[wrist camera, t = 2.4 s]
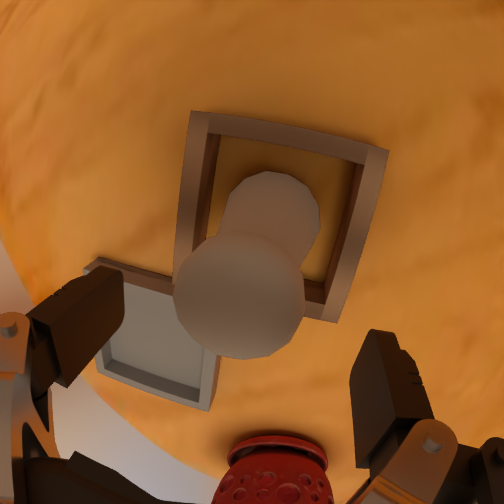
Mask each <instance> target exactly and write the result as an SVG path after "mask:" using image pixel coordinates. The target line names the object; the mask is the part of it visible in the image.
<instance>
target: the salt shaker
mask: <svg viewBox="0 0 504 504" xmlns="http://www.w3.org/2000/svg"><path fill="white" fill-rule="evenodd" d="M319 229H320V216H319V206H318V204H317V202H316V200H315V199H314V197H313V195H312V193H311V191H310V190H309V188H308V186H306V185H304V184H303V183H301V182H300V181H298V180H297V179H295V178H293V177H292V176H290V175H289V174H283V173H277V172H270V171H264V172H261V173H259V174H256V175H253V176H250V177H247V178H245V179H244V180H243V181H242V182H241V183H240V184H239V185H238V186H237V187H236V188H235V189H234V190H233V191H232V192H231V193H230V195H229V198H228V201H227V204H226V207H225V210H224V214H223V217H222V220H221V223H220V226H219V230H218V233H217V235H216V236H213V237H210V238H207V239H206V240H205V241H204V242H203V243H201V244H200V245H199V246H198V247H197V248H196V249H195V250H194V251H193V252H192V253H191V254H190V255H189V256H188V257H187V258H186V259H185V260H184V261H183V262H182V264H181V267H180V269H179V271H178V274H177V278H176V283H175V287H174V292H173V296H172V297H173V301H174V305H175V309H176V313H177V317H178V321H179V322H180V323H181V325H182V326H183V327H184V328H185V330H186V331H187V332H188V333H189V334H190V336H191V337H192V338H193V339H194V341H196V342H197V343H198V344H200V345H202V346H203V347H205V348H207V349H208V350H210V351H211V352H213V353H215V354H216V355H220V356H225V357H230V358H235V359H241V360H246V359H253V358H260V357H266V356H270V355H271V354H273V353H274V352H276V351H277V350H279V349H280V348H282V347H283V346H285V345H286V344H288V343H289V342H290V340H291V339H292V337H293V335H294V333H295V331H296V330H297V328H298V326H299V324H300V322H301V320H302V318H303V315H304V313H305V294H304V280H303V274H302V272H301V271H300V269H299V268H300V266H301V264H302V262H303V261H304V259H305V257H306V255H307V254H308V252H309V250H310V249H311V247H312V245H313V243H314V240H315V238H316V236H317V234H318V232H319Z"/></svg>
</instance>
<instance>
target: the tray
mask: <svg viewBox="0 0 504 504" xmlns="http://www.w3.org/2000/svg"><path fill="white" fill-rule="evenodd" d="M99 265H103V266H107V267H110V268H114V269H117V270H120V271H121V272H122V273H123V278H124V303H125V315H124V319H123V322H122V324H121V326H120V328H119V329H118V330H117V331H116V332H115V333H114V334H113V336H112V337H111V338H110V339H109V340H108V341H107V342H106V344H105V345H104V346H103V347H102V348H101V349H100V350H99V352H98V353H97V354H96V355H95V361H96V366H97V371H98V372H99V373H101V374H103V375H105V376H108V377H110V378H112V379H115V380H117V381H120V382H122V383H125V384H127V385H130V386H132V387H135V388H137V389H140V390H143V391H145V392H148V393H151V394H154V395H156V396H159V397H162V398H165V399H168V400H171V401H174V402H177V403H180V404H183V405H186V406H190V407H193V408H196V409H199V410H203V411H206V412H209V410H210V407H211V404H212V402H213V399H214V396H215V393H216V386H217V380H218V373H219V367H220V361H221V356H220V355H216V354H215V353H213V352H211V351H210V350H208V349H207V348H205V347H203V346H202V345H200V344H198V343H197V342H196V341H194V339H193V338H192V337H191V336H190V334H189V333H188V332H187V331H186V330H185V328H184V327H183V326H182V325H181V323H180V322H179V321H178V317H177V313H176V309H175V305H174V301H173V297H172V296H173V292H174V287H175V285H173V284H172V277H168V276H165V275H161V274H157V273H154V272H150V271H146V270H143V269H139V268H136V267H132V266H129V265H125V264H122V263H118V262H115V261H111V260H108V259H104V258H101V257H99V258H97V259H96V260H94V261H93V262H92V263H90V264H89V265H87V266H86V267H84V268H83V276H84V275H87V274H88V273H89V272H91V271H92V270H94V269H95V268H96V267H98V266H99Z"/></svg>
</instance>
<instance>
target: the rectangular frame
mask: <svg viewBox="0 0 504 504" xmlns="http://www.w3.org/2000/svg"><path fill="white" fill-rule="evenodd" d="M221 135H226V136H233V137H239V138H245V139H251V140H256V141H262V142H267V143H273V144H278V145H283V146H288V147H292V148H297V149H302V150H306V151H311V152H315V153H319V154H324V155H328V156H332V157H336V158H340V159H344V160H348V161H352V162H355V163H356V165H355V170H354V174H353V178H352V182H351V187H350V191H349V195H348V199H347V203H346V206H345V210H344V214H343V218H342V222H341V225H340V229H339V233H338V236H337V240H336V244H335V247H334V251H333V254H332V258H331V261H330V264H329V268H328V271H327V274H326V278H325V281H324V284H323V283H319V282H314V281H310V280H305V279H303V280H304V294H305V313H304V315H303V316H304V317H308V318H313V319H318V320H322V321H327V322H332V323H338V320H339V318H340V315H341V312H342V309H343V307H344V304H345V301H346V298H347V296H348V293H349V290H350V287H351V284H352V281H353V278H354V275H355V272H356V269H357V266H358V263H359V260H360V257H361V254H362V251H363V247H364V244H365V241H366V238H367V234H368V231H369V228H370V224H371V221H372V217H373V214H374V210H375V206H376V203H377V199H378V195H379V191H380V188H381V184H382V180H383V176H384V172H385V167H386V163H387V159H388V155H389V150H387V149H383V148H380V147H377V146H373V145H370V144H366V143H362V142H359V141H355V140H351V139H348V138H344V137H340V136H336V135H332V134H328V133H323V132H319V131H315V130H310V129H306V128H301V127H296V126H291V125H286V124H281V123H276V122H270V121H265V120H259V119H253V118H246V117H240V116H233V115H226V114H218V113H210V112H202V111H192V110H191V113H190V119H189V126H188V132H187V139H186V146H185V154H184V161H183V169H182V177H181V186H180V195H179V204H178V214H177V224H176V236H175V248H174V261H173V277H172V284H173V285H175V283H176V278H177V274H178V271H179V269H180V267H181V264H182V262H183V261H184V260H185V259H186V258H187V257H188V256H189V255H190V254H191V253H192V252H193V251H194V250H195V249H196V248H197V247H198V246H199V245H200V244H201V243H203V242H204V241H205V240H206V232H207V224H208V217H209V209H210V202H211V195H212V188H213V181H214V174H215V168H216V161H217V154H218V148H219V142H220V136H221Z"/></svg>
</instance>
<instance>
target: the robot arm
mask: <svg viewBox="0 0 504 504" xmlns="http://www.w3.org/2000/svg"><path fill="white" fill-rule="evenodd" d="M124 315H125V303H124V278H123V273H122V272H121V271H120V270H117V269H114V268H110V267H107V266H103V265H99V266H98V267H96V268H95V269H94V270H92V271H91V272H89V273H88V274H87V275H84V276H81V277H78V278H76V279H73V280H71V281H69V282H68V283H67V284H65V285H64V286H63V287H62V289H59V290H57V291H56V292H55V293H54V295H50V296H49V297H48V298H47V299H45V300H44V301H43V302H41V303H40V304H39V305H37V306H36V307H35V308H33V309H32V310H31V311H30V312H29V313H27V314H26V315H24V314H22V313H18V312H7V313H3V314H0V504H194V503H181V502H171V501H163V500H159V499H157V498H155V497H153V496H151V495H150V494H148V493H147V492H145V491H144V490H142V489H141V488H139V487H138V486H136V485H135V484H133V483H132V482H131V481H129V480H128V479H126V478H125V477H124V476H122V475H121V474H119V473H118V472H117V471H115V470H113V469H111V468H109V467H107V466H104V465H102V464H100V463H98V462H96V461H94V460H92V459H90V458H88V457H86V456H84V455H82V454H80V453H78V452H77V451H74V453H73V455H72V456H71V457H70V459H69V460H68V459H62V458H60V455H59V452H58V450H57V446H56V443H55V437H54V425H53V410H52V392H51V389H50V386H51V385H52V384H53V382H56V383H58V384H60V385H61V386H63V387H65V388H68V387H69V386H70V384H71V383H72V382H73V381H74V379H75V378H76V377H77V376H78V375H79V374H80V373H81V371H82V370H83V369H84V368H85V367H86V366H87V364H88V363H89V362H90V361H91V360H92V359H93V357H94V356H95V355H96V354H97V353H98V352H99V350H100V349H101V348H102V347H103V346H104V345H105V344H106V342H107V341H108V340H109V339H110V338H111V337H112V336H113V334H114V333H115V332H116V331H117V330H118V329H119V328H120V326H121V324H122V322H123V319H124ZM422 384H423V382H422V379H421V377H420V376H419V371H418V368H417V366H416V363H415V361H414V360H413V359H412V357H411V356H410V355H409V354H408V353H407V352H406V350H401V349H400V347H399V344H398V341H397V338H396V335H395V334H394V333H393V332H388V331H382V330H376V329H371V330H369V332H368V334H367V336H366V338H365V340H364V343H363V345H362V347H361V349H360V352H359V354H358V356H357V358H356V360H355V363H354V365H353V367H352V370H351V374H350V381H349V386H350V395H351V406H352V417H353V429H354V443H355V460H356V468H363V469H370V477H369V478H368V479H367V480H366V481H365V482H364V483H363V484H362V486H361V487H360V488H359V489H358V490H357V491H356V493H355V494H354V495H353V496H352V497H351V498H350V499H349V501H348V502H347V503H346V504H477V503H478V504H504V439H502V438H499V437H493V438H490V439H488V440H487V441H486V442H485V443H484V444H483V445H482V446H481V447H480V448H479V449H478V448H474V447H470V446H466V445H462V444H459V443H458V441H457V438H456V436H455V434H454V432H453V431H452V430H451V429H450V428H449V427H448V426H447V425H446V424H444V423H442V422H440V421H438V420H435V418H434V415H433V412H432V409H431V406H430V403H429V400H428V397H427V394H426V391H425V388H424V386H422Z"/></svg>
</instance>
